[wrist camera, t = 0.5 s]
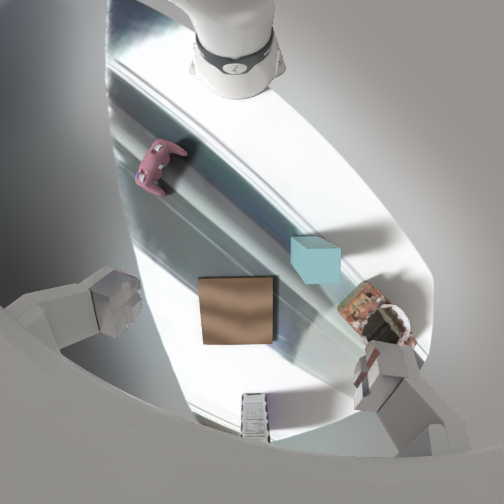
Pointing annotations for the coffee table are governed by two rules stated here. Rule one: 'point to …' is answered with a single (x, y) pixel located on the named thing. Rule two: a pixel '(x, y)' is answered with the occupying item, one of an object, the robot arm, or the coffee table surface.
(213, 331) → the walnut board
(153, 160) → the video game controller
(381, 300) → the decorative box
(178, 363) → the coffee table surface
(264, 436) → the candy box
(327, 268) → the teal block
